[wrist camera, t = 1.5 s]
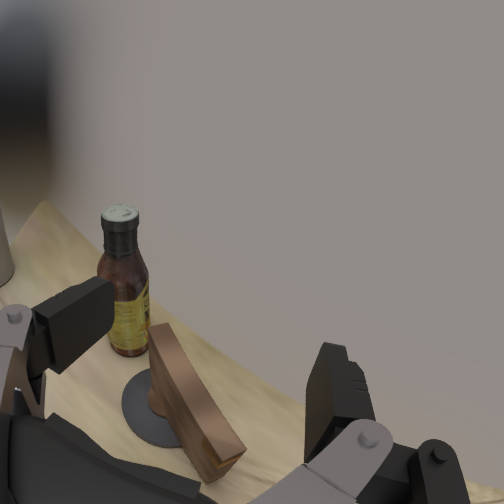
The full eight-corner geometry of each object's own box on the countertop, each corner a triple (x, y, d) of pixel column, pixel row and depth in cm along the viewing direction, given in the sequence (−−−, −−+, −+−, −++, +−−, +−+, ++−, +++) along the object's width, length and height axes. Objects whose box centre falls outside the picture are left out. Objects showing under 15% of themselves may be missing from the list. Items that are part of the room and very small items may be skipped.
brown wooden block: (142, 391, 29) (134, 329, 23) (175, 381, 31) (179, 317, 25) (196, 488, 21) (207, 468, 14) (232, 472, 23) (260, 441, 17)
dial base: (106, 415, 26) (103, 410, 26) (153, 357, 35) (152, 352, 35) (186, 464, 24) (187, 461, 23) (225, 395, 33) (227, 390, 33)
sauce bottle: (157, 352, 36) (160, 225, 26) (116, 363, 33) (96, 235, 22) (142, 319, 40) (142, 197, 30) (103, 328, 37) (88, 203, 26)
